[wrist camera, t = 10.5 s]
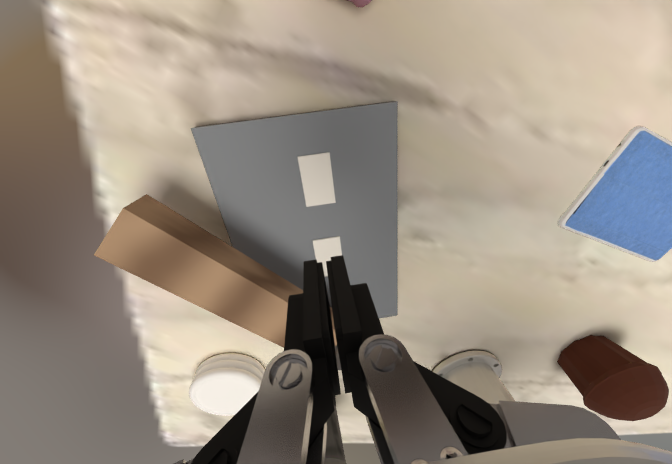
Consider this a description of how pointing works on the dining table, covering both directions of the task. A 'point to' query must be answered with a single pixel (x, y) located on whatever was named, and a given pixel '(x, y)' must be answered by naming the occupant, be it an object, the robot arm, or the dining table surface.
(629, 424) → the dining table surface
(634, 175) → the tablet computer
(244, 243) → the label panel
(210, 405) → the white round container
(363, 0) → the video game controller
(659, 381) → the muffin
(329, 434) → the beverage cup
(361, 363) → the robot arm
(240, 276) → the swing bar
